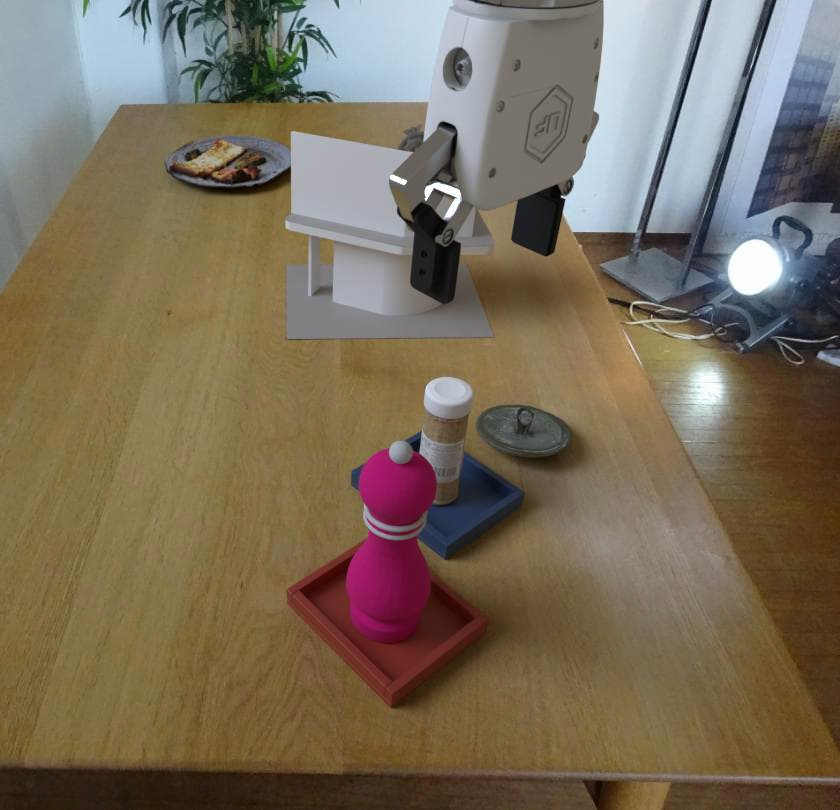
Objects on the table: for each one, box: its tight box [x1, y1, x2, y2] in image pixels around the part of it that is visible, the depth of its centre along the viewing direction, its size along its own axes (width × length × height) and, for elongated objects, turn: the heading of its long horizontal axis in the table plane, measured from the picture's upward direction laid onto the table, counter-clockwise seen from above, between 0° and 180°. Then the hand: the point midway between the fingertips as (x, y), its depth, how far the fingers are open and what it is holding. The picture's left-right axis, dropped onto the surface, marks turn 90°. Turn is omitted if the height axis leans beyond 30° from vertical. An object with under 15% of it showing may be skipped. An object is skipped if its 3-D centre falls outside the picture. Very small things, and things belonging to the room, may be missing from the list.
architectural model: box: [285, 130, 496, 340], centre depth 110 cm, size 28×21×23 cm
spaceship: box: [397, 123, 424, 152], centre depth 152 cm, size 8×35×8 cm
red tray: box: [286, 537, 489, 709], centre depth 72 cm, size 14×12×2 cm
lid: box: [475, 404, 573, 458], centre depth 90 cm, size 11×10×5 cm
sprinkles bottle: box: [419, 376, 475, 505], centre depth 80 cm, size 5×5×13 cm
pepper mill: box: [346, 440, 437, 643], centre depth 66 cm, size 7×7×20 cm
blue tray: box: [350, 430, 526, 560], centre depth 84 cm, size 14×12×2 cm
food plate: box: [164, 134, 291, 190], centre depth 154 cm, size 25×23×4 cm
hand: (483, 270), depth 52 cm, fingers open, 9 cm apart
